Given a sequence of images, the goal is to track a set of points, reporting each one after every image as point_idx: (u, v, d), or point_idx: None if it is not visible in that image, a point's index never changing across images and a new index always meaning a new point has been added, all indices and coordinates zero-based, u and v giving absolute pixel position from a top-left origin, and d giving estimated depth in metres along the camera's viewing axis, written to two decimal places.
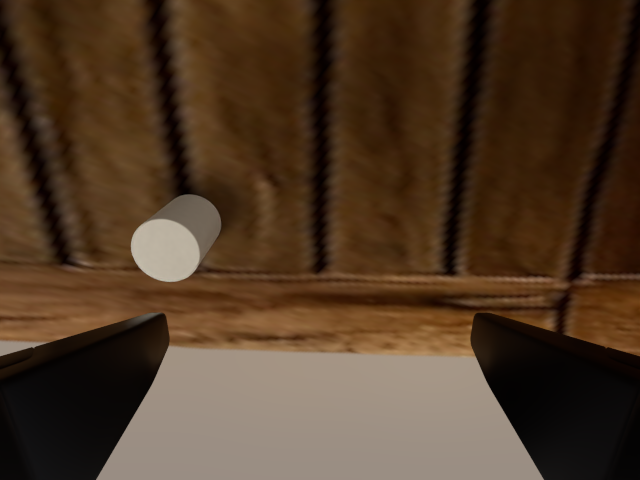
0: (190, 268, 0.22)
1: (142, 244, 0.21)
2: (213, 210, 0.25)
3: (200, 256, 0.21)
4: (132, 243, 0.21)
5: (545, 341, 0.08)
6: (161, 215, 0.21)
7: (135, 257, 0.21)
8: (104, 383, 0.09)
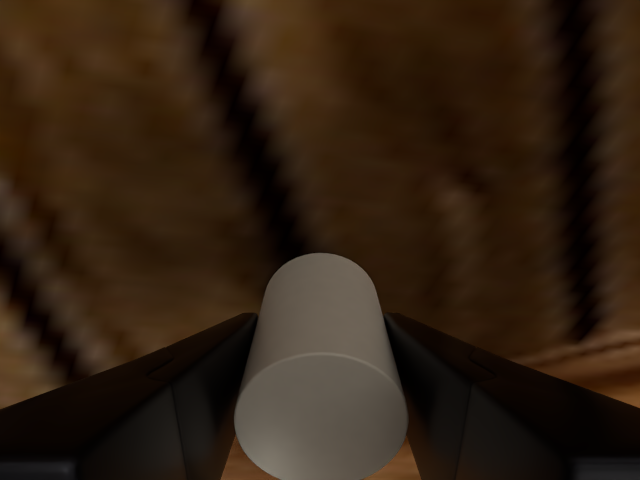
0: (389, 447, 0.09)
1: (262, 423, 0.08)
2: (362, 275, 0.12)
3: None
4: (237, 426, 0.08)
5: (421, 341, 0.08)
6: (289, 340, 0.08)
7: (251, 453, 0.09)
8: (227, 383, 0.09)
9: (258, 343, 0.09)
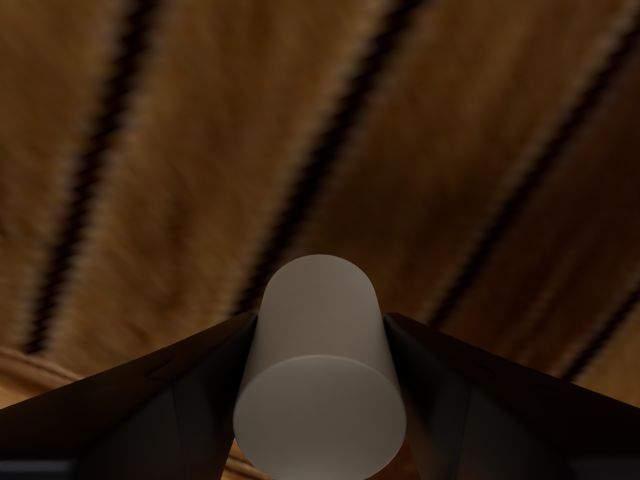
0: (387, 449, 0.09)
1: (260, 425, 0.08)
2: (361, 277, 0.12)
3: None
4: (236, 428, 0.08)
5: (422, 341, 0.08)
6: (288, 342, 0.08)
7: (250, 455, 0.09)
8: (227, 383, 0.09)
9: (257, 345, 0.09)
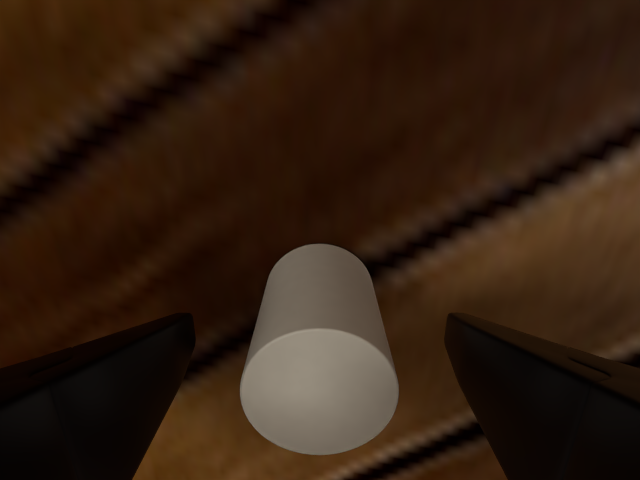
0: (381, 417, 0.09)
1: (265, 394, 0.09)
2: (358, 265, 0.13)
3: None
4: (243, 397, 0.09)
5: (509, 341, 0.08)
6: (290, 318, 0.09)
7: (255, 423, 0.09)
8: (140, 383, 0.09)
9: (262, 323, 0.10)
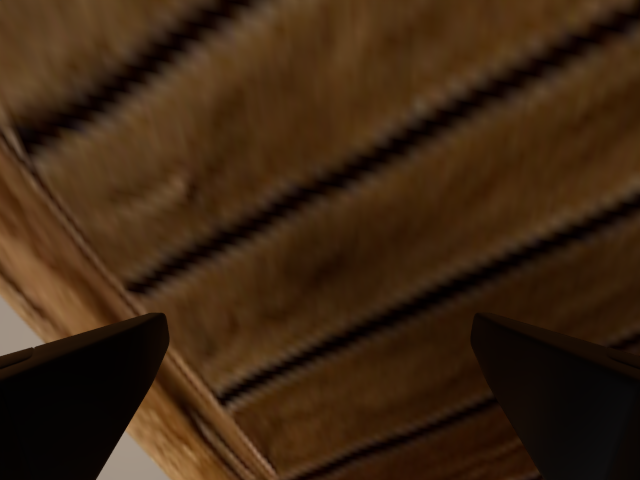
0: None
1: None
2: None
3: None
4: None
5: (545, 341, 0.08)
6: None
7: None
8: (104, 383, 0.09)
9: None
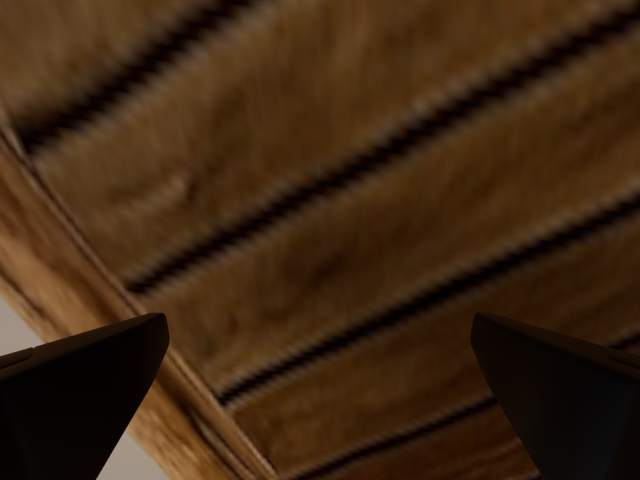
0: None
1: None
2: None
3: None
4: None
5: (545, 341, 0.08)
6: None
7: None
8: (104, 383, 0.09)
9: None
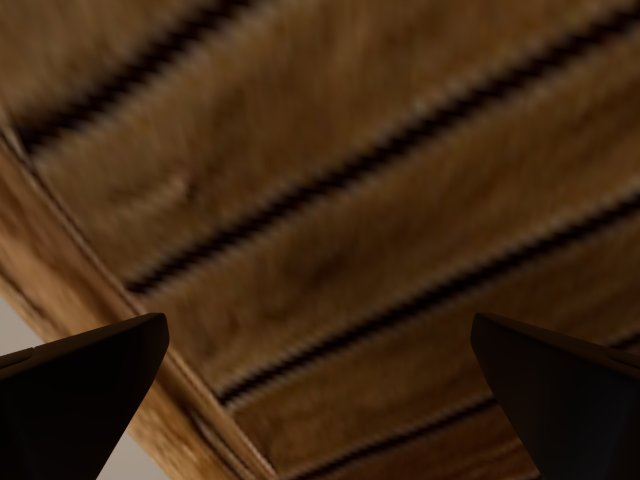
0: None
1: None
2: None
3: None
4: None
5: (545, 341, 0.08)
6: None
7: None
8: (104, 383, 0.09)
9: None
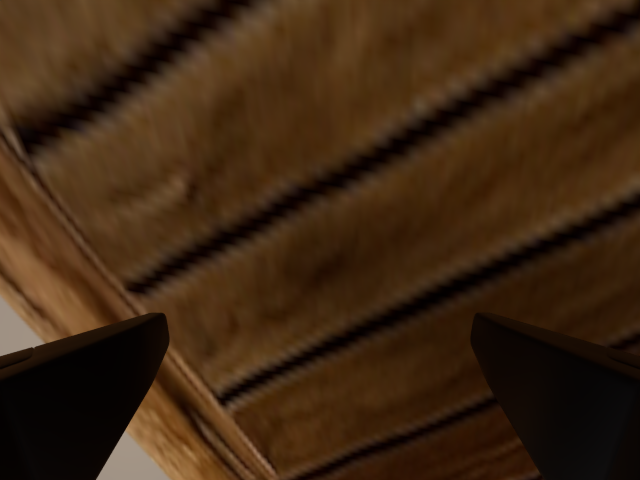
0: None
1: None
2: None
3: None
4: None
5: (545, 341, 0.08)
6: None
7: None
8: (104, 383, 0.09)
9: None
